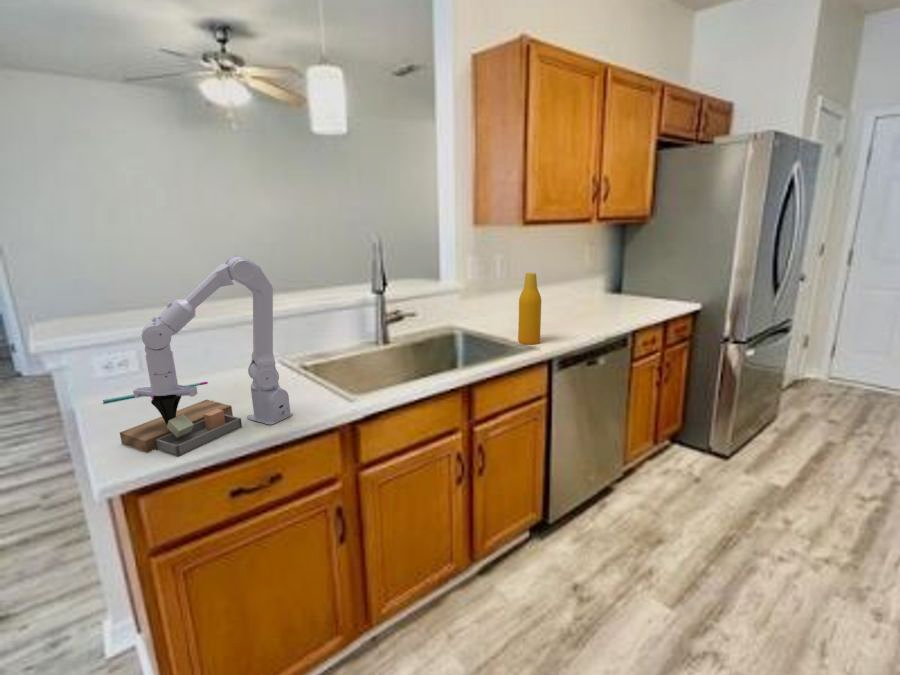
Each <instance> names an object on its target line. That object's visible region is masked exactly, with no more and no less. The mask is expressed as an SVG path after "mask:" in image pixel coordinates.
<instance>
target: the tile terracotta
mask: <svg viewBox="0 0 900 675" xmlns="http://www.w3.org/2000/svg"><path fill="white" fill-rule="evenodd" d="M204 420H205V426H206V429H209V430H213V429H215V428H218V427H220V426H222V425H224V424H225V418H224V411H223V410H220V409H215V410H213V411H211V412H208V413H206V414H204Z"/></svg>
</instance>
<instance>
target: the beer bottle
mask: <svg viewBox="0 0 900 675" xmlns="http://www.w3.org/2000/svg"><path fill="white" fill-rule="evenodd" d="M537 279H538V278H537V273H536V272H525V276H524V284H523V289H522V291H521V293H520V295H519V298H518V332H517V333H518V335H517V340H518V343H520V344H521V345H529V346H530V345H531V346H532V345H533V346H534V345H537V344H540V343H541V324H542V323H541V322H542V321H541V319H542V296H541V294H540V292H539V289H538V280H537Z"/></svg>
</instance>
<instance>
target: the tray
mask: <svg viewBox="0 0 900 675" xmlns="http://www.w3.org/2000/svg"><path fill="white" fill-rule="evenodd" d="M224 418H225V424H224V425H222V426H220V427H218V428H215V429H213V430H209V429H206V426H205V420H201V421H199V422H197V423H194V426H193V429H192V431H191V432H188V433H186V434H184V435H182V436H180V437H178V438H177V437H176V436H175V435H174V434H173V433H170V434H168V435H165V436H163V437H161V438H158V439H156V440H155V444H156V449H155V450H157V451H159V452H163V453H166V454H168V455H172V456H175V457H177V458H179V457H180V456H183V455H185V454H186V453H189V452H191V451H194V450H196V449H198V448H200V447H202V446H205V445H206V444H208V443H212V442H213V441H215V440H217V439H219V438H221V437H224V436H227V435H228V434H230V433H233V432H235V431H236V430H238V429H241V428H242V427H243V423H242V418H241V417H238V416H230V415H226V414H224Z"/></svg>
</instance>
